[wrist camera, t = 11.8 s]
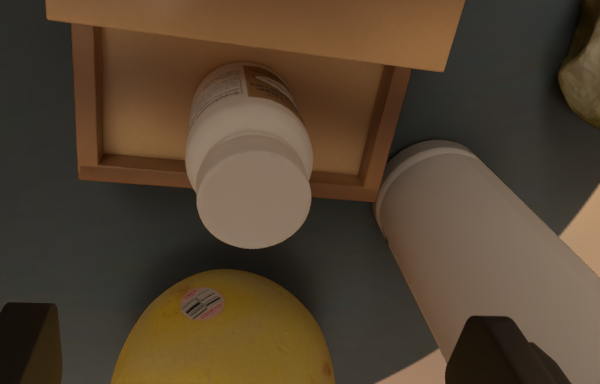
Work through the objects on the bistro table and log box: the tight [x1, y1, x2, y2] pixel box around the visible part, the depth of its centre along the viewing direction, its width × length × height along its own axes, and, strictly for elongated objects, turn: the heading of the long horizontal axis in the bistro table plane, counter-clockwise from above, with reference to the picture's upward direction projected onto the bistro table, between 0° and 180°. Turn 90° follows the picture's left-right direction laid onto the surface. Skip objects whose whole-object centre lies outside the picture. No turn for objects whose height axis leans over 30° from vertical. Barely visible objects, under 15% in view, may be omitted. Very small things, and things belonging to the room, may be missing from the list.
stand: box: [45, 0, 465, 202], centre depth 20 cm, size 12×13×6 cm
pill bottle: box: [185, 62, 313, 249], centre depth 18 cm, size 4×4×8 cm
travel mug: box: [371, 140, 600, 384], centre depth 19 cm, size 6×7×20 cm
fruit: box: [111, 269, 335, 384], centre depth 25 cm, size 10×11×10 cm
